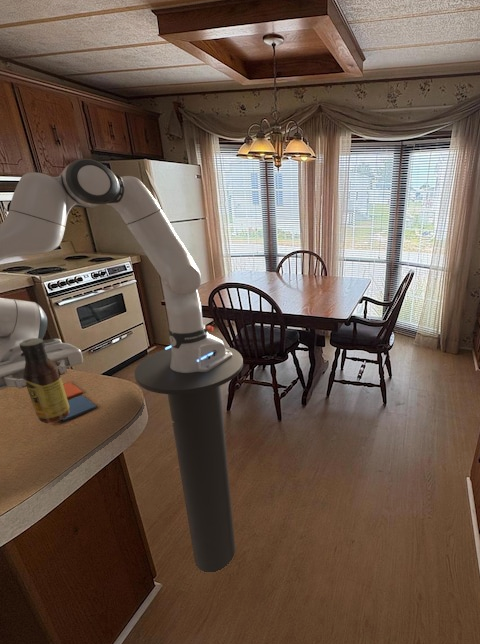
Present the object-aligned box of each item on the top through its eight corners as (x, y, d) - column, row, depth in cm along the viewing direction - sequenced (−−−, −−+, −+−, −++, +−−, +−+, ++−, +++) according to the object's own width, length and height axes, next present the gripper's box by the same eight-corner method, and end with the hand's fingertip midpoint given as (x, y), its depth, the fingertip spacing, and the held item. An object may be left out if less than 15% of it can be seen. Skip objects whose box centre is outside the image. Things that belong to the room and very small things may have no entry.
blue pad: (82, 396, 100) (81, 395, 100) (97, 407, 95) (96, 405, 95) (50, 409, 94) (49, 407, 93) (63, 421, 89) (63, 419, 89)
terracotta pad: (70, 383, 106) (69, 381, 106) (83, 393, 102) (82, 391, 101) (38, 394, 100) (38, 392, 100) (51, 405, 95) (50, 403, 95)
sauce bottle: (38, 415, 82) (11, 339, 74) (69, 406, 86) (47, 332, 78) (39, 428, 77) (11, 349, 69) (73, 418, 81) (49, 342, 73)
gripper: (-43, 364, 75) (-24, 384, 67) (65, 336, 90) (89, 350, 83) (-32, 388, 77) (-13, 411, 70) (71, 357, 93) (95, 372, 86)
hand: (44, 377), depth 77 cm, fingers closed on sauce bottle, 6 cm apart
